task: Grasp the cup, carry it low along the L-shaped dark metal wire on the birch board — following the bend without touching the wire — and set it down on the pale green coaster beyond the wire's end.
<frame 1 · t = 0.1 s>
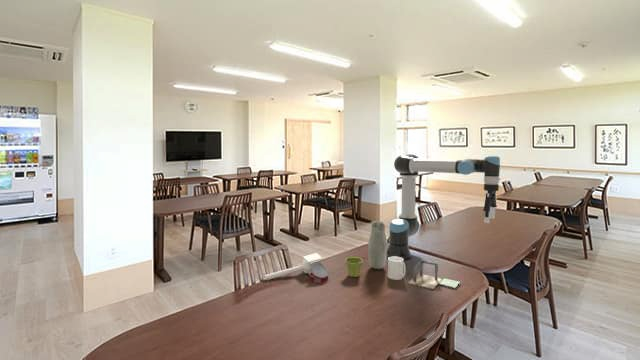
hand: (489, 220, 192), 28 cm above the table, fingers open, 13 cm apart
white handled tool: (293, 276, 188), on the table
plant pot: (353, 275, 187), on the table
canned food: (319, 280, 182), on the table
wire board: (419, 281, 178), on the table
cup: (397, 278, 183), on the table
bent wire: (425, 272, 176), on the wire board, point 5 cm above the table
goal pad: (449, 284, 174), on the table
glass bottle: (377, 268, 197), on the table
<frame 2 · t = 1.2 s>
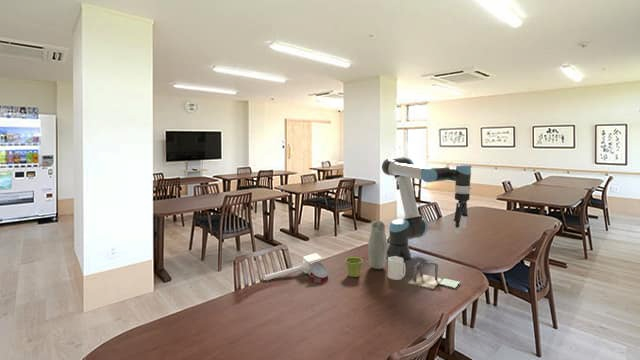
hand: (460, 230, 189), 24 cm above the table, fingers open, 13 cm apart
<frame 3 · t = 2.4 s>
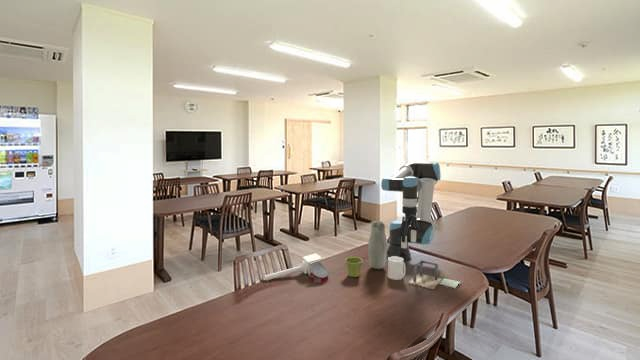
hand: (408, 244, 182), 18 cm above the table, fingers open, 13 cm apart
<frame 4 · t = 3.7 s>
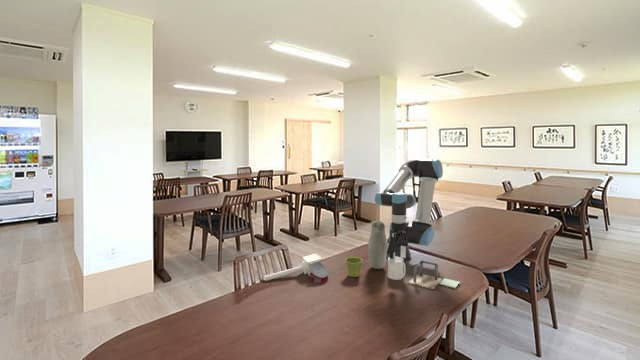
hand: (397, 260, 181), 10 cm above the table, fingers open, 13 cm apart
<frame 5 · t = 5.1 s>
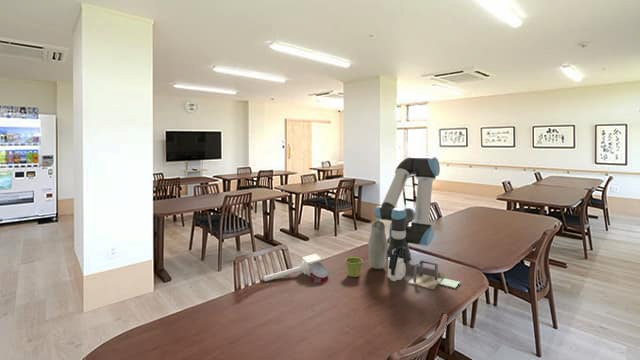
hand: (397, 277, 183), 0 cm above the table, fingers open, 10 cm apart
cup: (397, 278, 183), on the table, touching gripper
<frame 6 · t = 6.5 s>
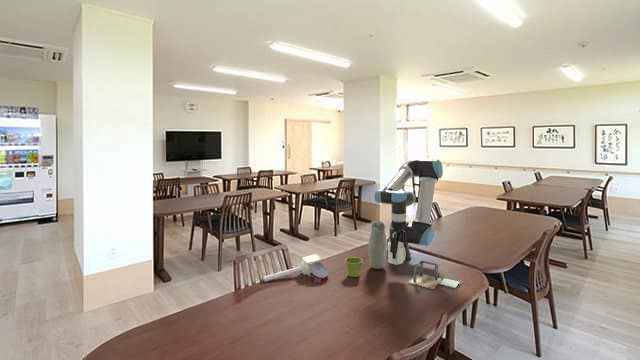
hand: (398, 261, 182), 9 cm above the table, fingers closed on cup, 8 cm apart
cup: (397, 262, 181), point 9 cm above the table, touching gripper
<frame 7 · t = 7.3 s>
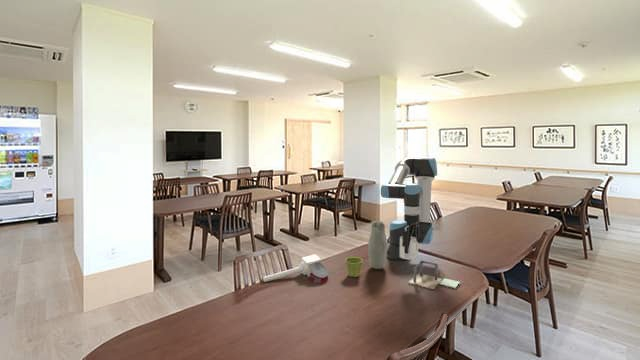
hand: (410, 256, 175), 14 cm above the table, fingers closed on cup, 8 cm apart
cup: (409, 258, 175), point 13 cm above the table, touching gripper
when the fingers open (2 cm above the table, at t = 13.2 s): cup stays where it is, resting on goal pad, wire board.
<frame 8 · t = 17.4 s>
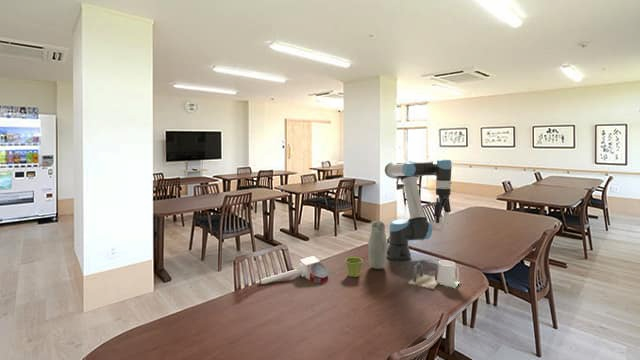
hand: (442, 226, 186), 27 cm above the table, fingers open, 13 cm apart
white handled tool: (289, 280, 183), on the table
cup: (449, 283, 173), point 1 cm above the table, touching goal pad, wire board
everything else where it was.
at the end: cup inside the target area on the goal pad (0.8 cm from its centre), point 0.8 cm above the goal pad's base; cup tilted 0°; cup touching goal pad, wire board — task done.
